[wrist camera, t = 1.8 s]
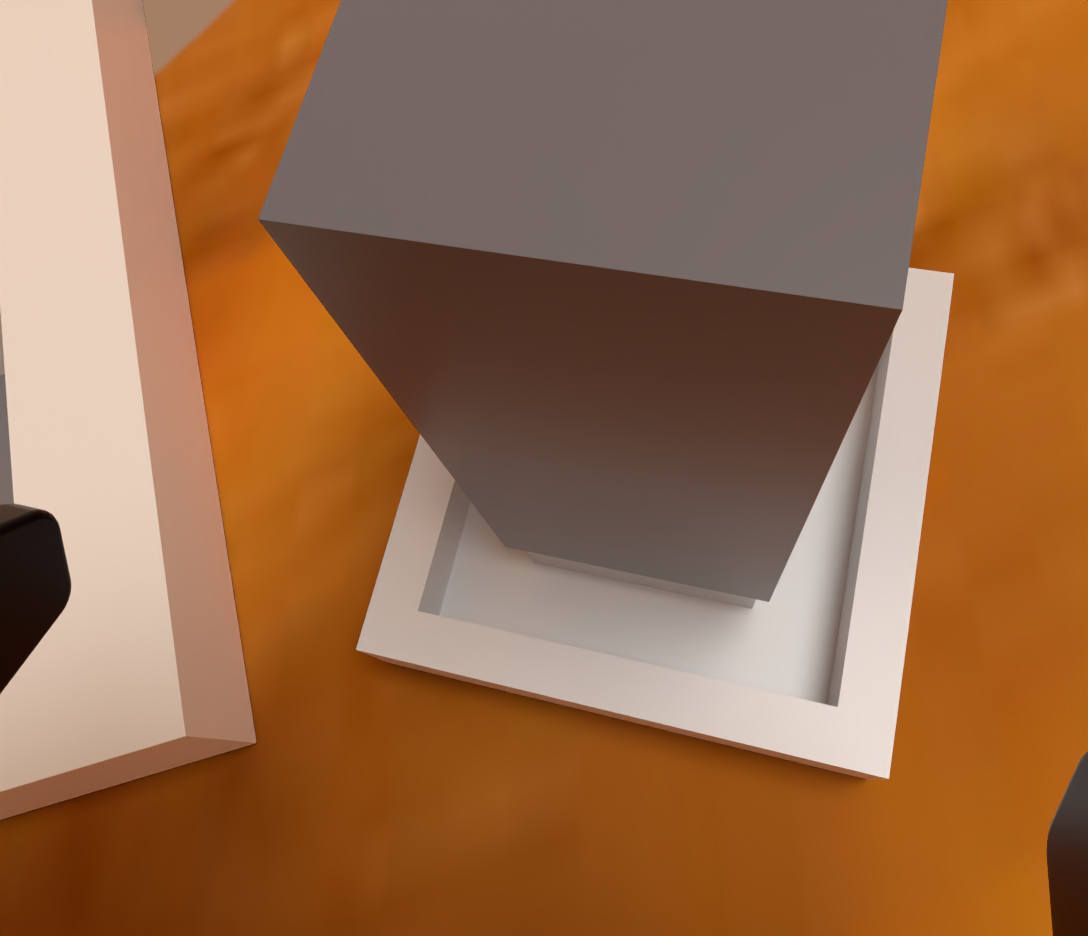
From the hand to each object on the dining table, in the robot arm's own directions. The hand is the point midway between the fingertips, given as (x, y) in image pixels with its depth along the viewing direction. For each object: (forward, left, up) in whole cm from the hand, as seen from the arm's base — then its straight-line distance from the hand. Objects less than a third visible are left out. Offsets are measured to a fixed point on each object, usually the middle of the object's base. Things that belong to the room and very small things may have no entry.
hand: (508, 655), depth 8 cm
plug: (+5, +3, -11) cm, 12 cm away
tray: (+5, +3, -12) cm, 13 cm away
